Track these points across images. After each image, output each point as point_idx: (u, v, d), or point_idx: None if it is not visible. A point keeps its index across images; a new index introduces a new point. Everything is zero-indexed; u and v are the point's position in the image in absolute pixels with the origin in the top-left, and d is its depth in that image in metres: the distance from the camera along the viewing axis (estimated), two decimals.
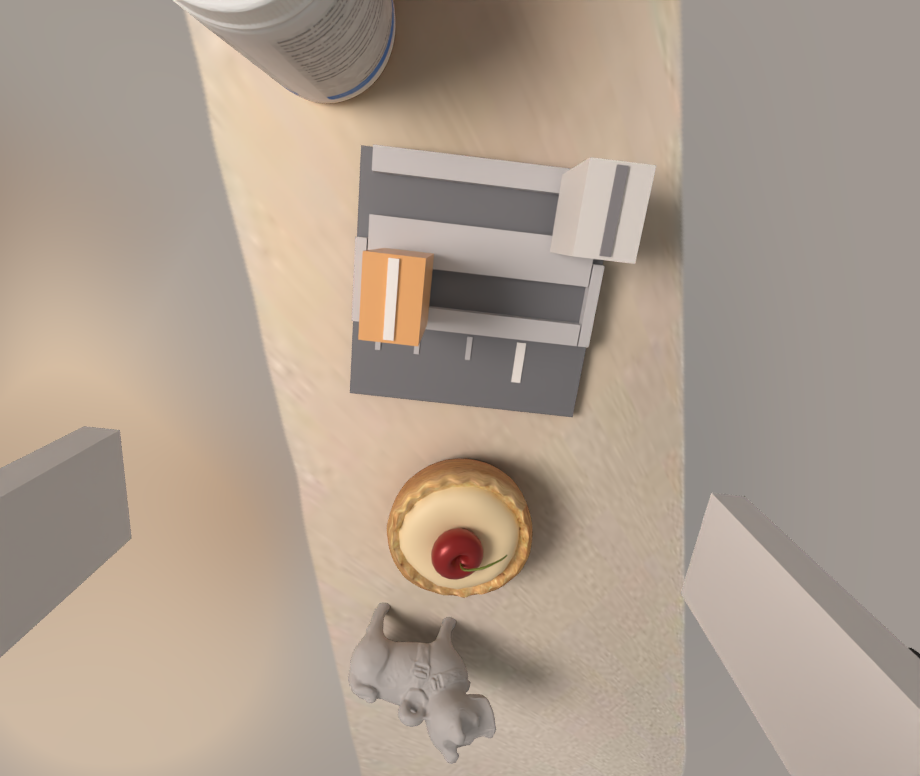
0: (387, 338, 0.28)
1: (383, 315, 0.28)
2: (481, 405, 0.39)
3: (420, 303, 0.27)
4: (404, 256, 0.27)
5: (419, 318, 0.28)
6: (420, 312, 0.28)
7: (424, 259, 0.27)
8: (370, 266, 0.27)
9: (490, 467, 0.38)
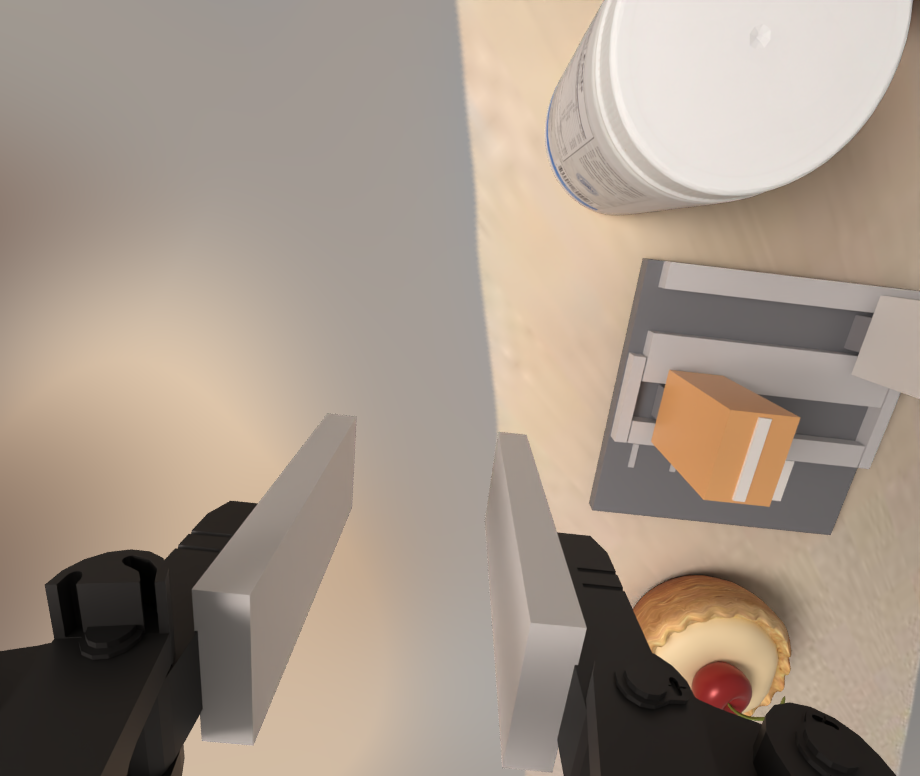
0: (738, 500, 0.25)
1: (738, 475, 0.25)
2: (733, 523, 0.36)
3: (783, 463, 0.24)
4: (774, 415, 0.24)
5: (777, 478, 0.25)
6: (779, 472, 0.25)
7: (798, 418, 0.24)
8: (735, 425, 0.24)
9: (745, 591, 0.35)
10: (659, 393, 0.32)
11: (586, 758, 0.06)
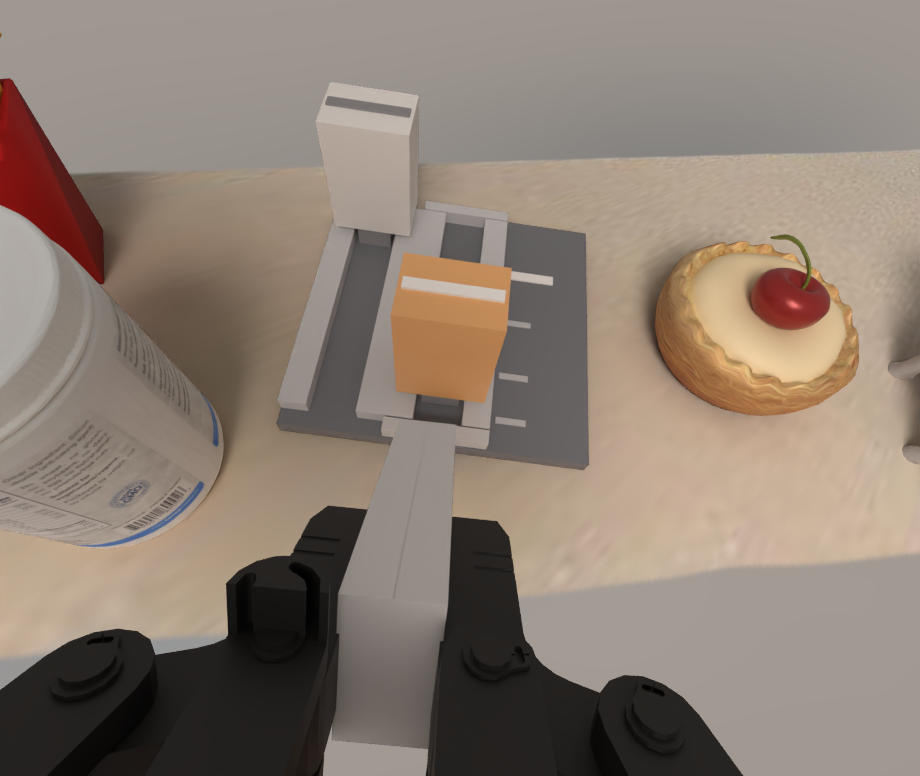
0: (504, 296, 0.21)
1: (473, 299, 0.21)
2: (584, 314, 0.33)
3: (457, 261, 0.22)
4: (400, 274, 0.22)
5: (476, 264, 0.22)
6: (469, 263, 0.22)
7: (405, 254, 0.22)
8: (410, 309, 0.21)
9: (660, 293, 0.32)
10: (430, 399, 0.28)
11: None
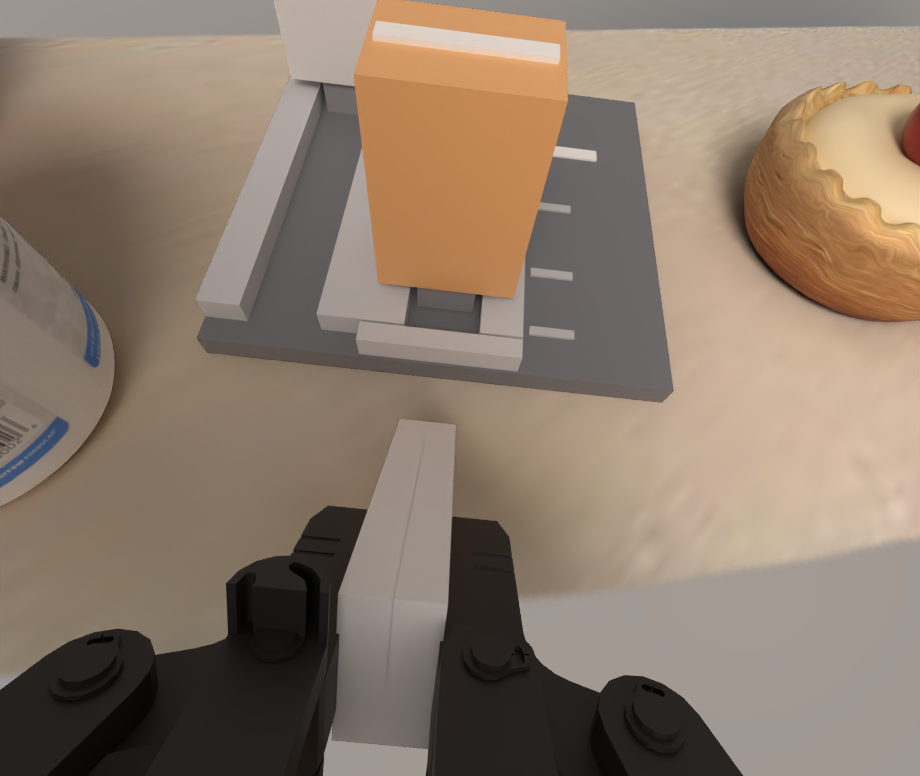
0: (557, 51, 0.12)
1: (503, 57, 0.12)
2: (644, 196, 0.23)
3: (472, 9, 0.13)
4: None
5: (504, 15, 0.13)
6: (491, 16, 0.13)
7: None
8: (389, 66, 0.11)
9: (754, 158, 0.22)
10: (430, 300, 0.19)
11: None
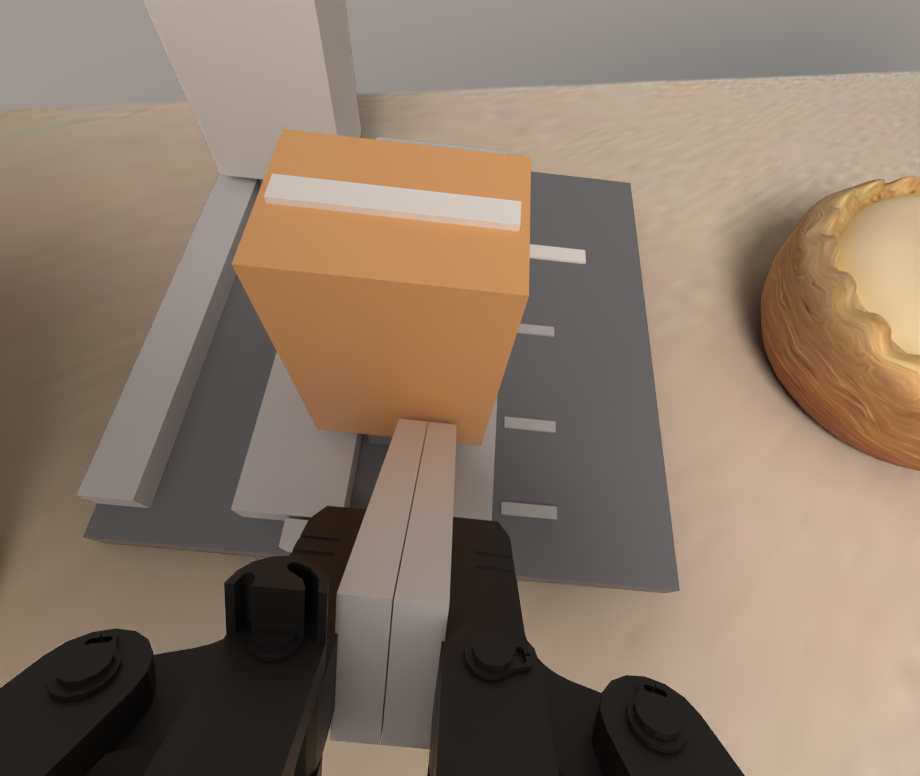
0: (517, 214, 0.09)
1: (443, 224, 0.09)
2: (641, 309, 0.20)
3: (407, 144, 0.10)
4: (271, 174, 0.09)
5: (450, 150, 0.10)
6: (433, 151, 0.10)
7: (285, 131, 0.10)
8: (284, 248, 0.08)
9: (774, 269, 0.19)
10: (384, 439, 0.16)
11: None
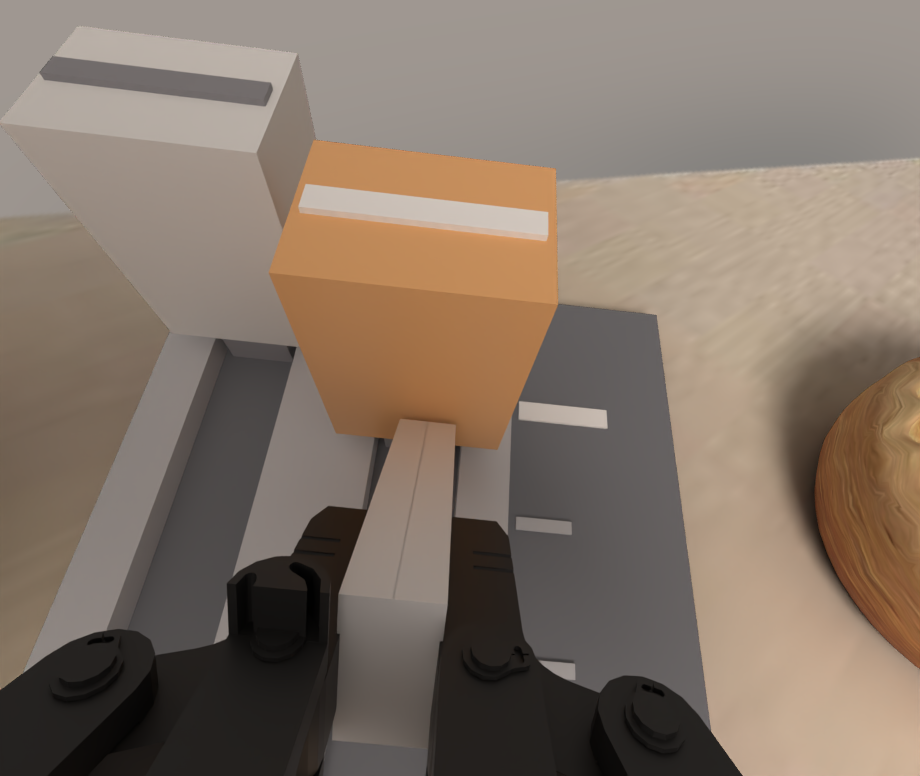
0: (544, 225, 0.09)
1: (473, 234, 0.09)
2: (675, 492, 0.16)
3: (435, 155, 0.10)
4: None
5: (477, 161, 0.10)
6: (460, 162, 0.10)
7: (316, 142, 0.10)
8: (319, 257, 0.08)
9: (838, 456, 0.15)
10: None
11: None
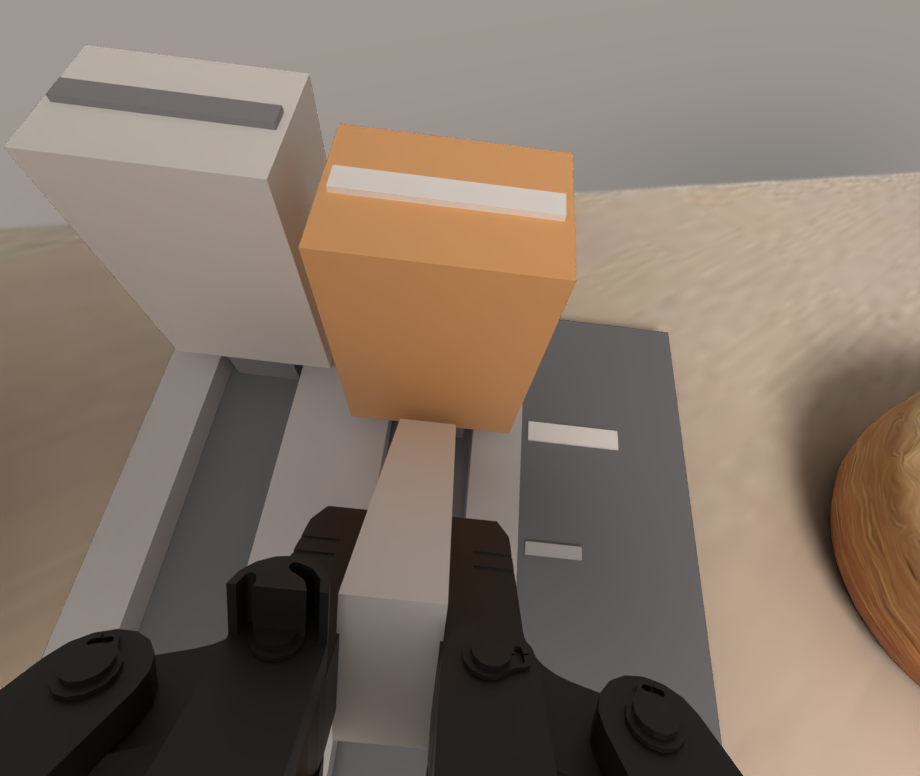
0: (562, 206, 0.09)
1: (493, 214, 0.09)
2: (687, 516, 0.16)
3: (456, 139, 0.10)
4: (329, 166, 0.10)
5: (496, 146, 0.10)
6: (480, 146, 0.10)
7: (341, 126, 0.10)
8: (346, 234, 0.09)
9: (856, 484, 0.15)
10: None
11: None
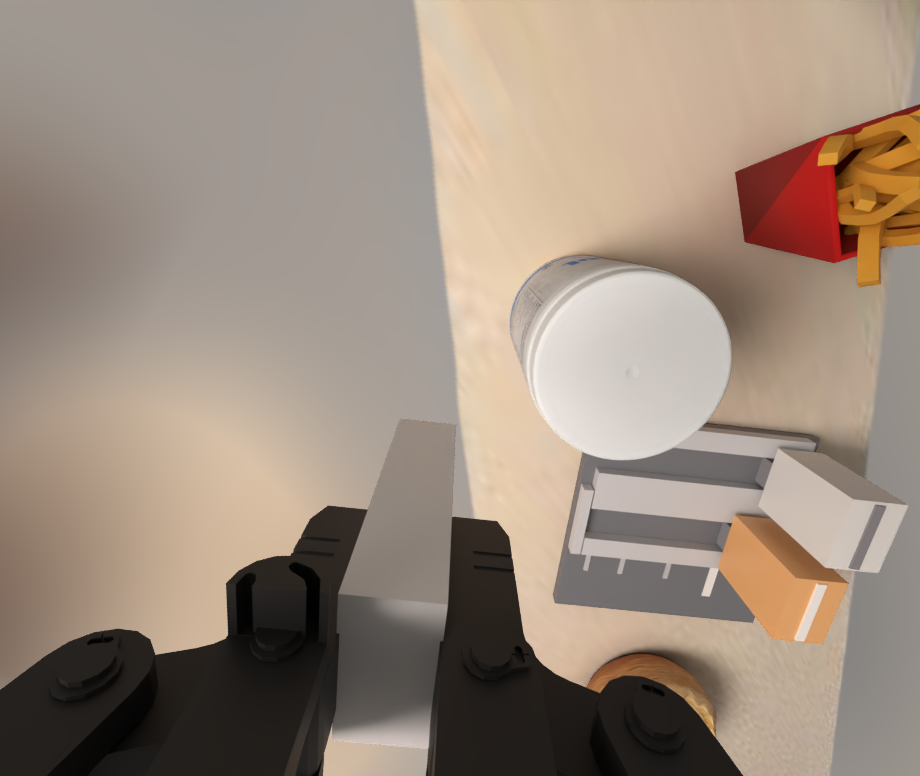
0: (799, 640, 0.32)
1: (799, 623, 0.32)
2: (671, 613, 0.43)
3: (834, 614, 0.32)
4: (829, 581, 0.31)
5: (829, 624, 0.32)
6: (831, 620, 0.32)
7: (847, 584, 0.31)
8: (798, 588, 0.31)
9: (679, 672, 0.43)
10: (724, 528, 0.40)
11: None
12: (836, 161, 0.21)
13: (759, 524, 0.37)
